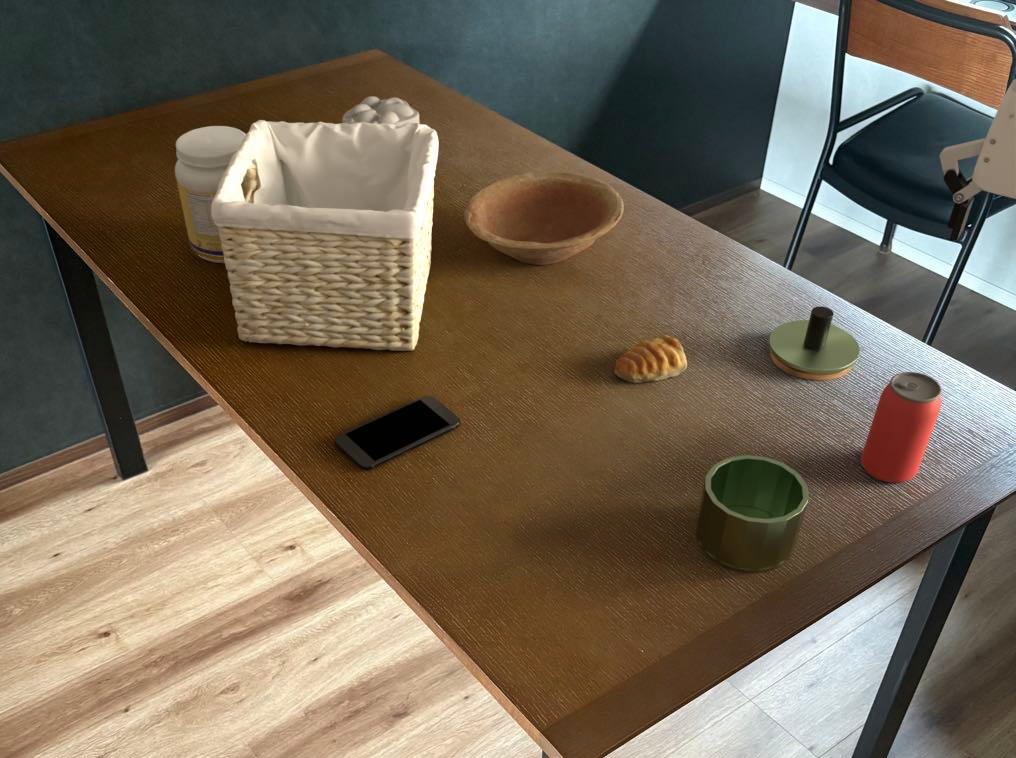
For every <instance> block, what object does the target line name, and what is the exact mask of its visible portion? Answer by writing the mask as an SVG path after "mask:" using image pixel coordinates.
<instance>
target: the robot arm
mask: <svg viewBox="0 0 1016 758" xmlns="http://www.w3.org/2000/svg"><path fill="white" fill-rule="evenodd" d="M974 157H977V160H976V163H975V166H974V170H973V173H972V175H971V176H970V177H969V178H967V179H966V177H965V176H964V174H963V172H962V170H961V169H960V168H959V161H961V160H966V159H971V158H974ZM939 160H940V166H941V170H942V171H941V172H942V173H943V182H944V183H945V184H946V186H947V188H948V190H949V192H950V193H951V194H952V201H953V202H954V203H953V204H954V205H953V207H952V210H951V214H950V216H949V218H948V219H949V220H948V223H947V226H946V228H947V229H952V230H951V233H950V235H949V236H950V237H949V240H948V241H951V242H955V241H958V240H959V238H960V236H961V235H962V233H963V232H964V229H965V226H966V223H967V221H968V218H969V215H970V212H971V208H972V207H973V204H974V203H973V202H974V200H975V196H976V195H978V194H979V193H980V192H982V191H984V192H987V193H991V194H994V195H998V196H1003V197H1007V198H1011V199H1015V200H1016V78H1014V79H1013V80H1012V82H1011V83H1010V85H1009V87H1008V88H1007V90H1006V92H1005V94H1004V96H1003V97H1002V99H1001V102H1000V104H999V107H998V109H997V111H996V113H995V116H994V117H993V119H992V122H991V124H990V127H989V129H988V131H987V134H986V136H985V137H983V138H979V139H975V140H970V141H966V142H963V143H958V144H953V145H949V146H946V147H944V148H943V149H942V151H941V152H940V154H939Z"/></svg>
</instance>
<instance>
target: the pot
mask: <svg viewBox="0 0 1016 758" xmlns="http://www.w3.org/2000/svg"><path fill="white" fill-rule="evenodd" d="M809 500H810V499H809V486H808V484H807V483H806V482H805V481H804V479H803V478H802V476H801V475H800V473H799V472H798V471H795V469H793V468H791V467H790V466H788V465H787V464H786V463H783V462H781V461H778V460H775V459H772V458H770V457H767V456H761V455H760V456H759V455H751V454H743V455H736V456H731V457H730V456H729V457H726V458H724V459H723V460H720V461H719V462H717V463H715V464H713V465H712V466H711V468H710V469H709V471H708V472H707V473H706V475H705V477H704V483H703V487H702V493H701V499H700V503H699V508H698V513H697V519H696V529H695V538H696V541H697V543H698V546H699V548H700V549H701V550H702V552H703V553H704V554H705V555H706V556H707V557H708V558H709V559H711V560H712V561H714V562H715V563H717V564H718V565H721V566H722V567H725V568H727V569H730V570H733V571H737V572H744V573H764V572H768V571H769V572H770V571H773V570H776V569H777V568H779V567H781V566H783V565H784V564H786V563H787V561H788V560H790V558H791V557H792V555H793V553H794V550H795V548H796V546H797V543H798V539H799V536H800V531H801V528H802V524H803V521H804V519H805V518H804V517H805V514H806V511H807V508H808V503H809Z"/></svg>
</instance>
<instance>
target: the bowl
mask: <svg viewBox="0 0 1016 758" xmlns="http://www.w3.org/2000/svg"><path fill="white" fill-rule="evenodd" d="M624 209H625V204H624V201H623V199H622V197H621V194H620V193H619V192H618V191H617V190H616V189H615V188H613V187H612V186H611V185H609V184H608V183H606V182H605V181H602V180H600V179H597V178H595V177H591V176H589V175H586V174H580V173H575V172H569V171H568V172H566V171H531V172H522V173H519V174H516V175H515V174H514V175H512V176H508V177H503V178H501V179H499V180H496V181H493V182H491V183H490V184H489V183H488V184H487V185H485V186H484V187H482V188H481V189H479V190H477V192H476V193H474V195H473V196H471V198H470V199H469V201H468V203H467V205H466V206H465V209H464V213H463V216H464V221H465V224H466V225H467V227H468V229H469V230H470V231H471V232H472V233H473V234H474V235H475V236H476V237H477V238H479V239H481V240H482V241H483V242H486V243H488V245H490V247H492V248H493V249H495V250H496V251H498V252H500V253H502V254H503V255H506V256H508V257H511V258H512V259H515V260H516V261H519V262H521V263H525V264H529V265H534V266H545V265H546V266H547V265H552V264H556V263H559V262H561V261H565V260H566V259H568V258H570V257H572V256H575V255H578V254H579V253H581V252H583V251H584V250H587V249H588V248H590V247H591V246H592V245H593V244H594V242H595V241H596V240H597V239H599V238H600V237H602V236H604V235H606V234H607V233H609V232H610V231H611V230H612V229H613V228H614V227H615V226H616V225H617V224H618V223H619V222H620V220H621V219H622V216H623V214H624V211H625V210H624Z"/></svg>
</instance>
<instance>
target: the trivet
mask: <svg viewBox="0 0 1016 758" xmlns="http://www.w3.org/2000/svg"><path fill="white" fill-rule="evenodd" d="M769 355H770V358H771V360H772V362H773V363H774V364H775V366H776V367H778V368H779V369H780V370H782V371H784V372H785V373H786V374H789V375H791V376H794V377H796V378H800V379H803V380H804V379H805V380H810V381H831V380H835V379H839V378H841V377H844V376H846V375H847V374H848V373H849V372H850V371H851V369H852V368H853V366H851V367H850V368H848V369H846V370H843V371H840V372H835V373H825V374H821V373H810V372H805V371H801V370H798V369H795V368H792V367H790V366H788V365H786V364H784V363H783V362H781V361H780V360H778V359H777V358H776V357H775V356H774V355H773V353H772V352H771V350H770V349H769Z"/></svg>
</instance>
